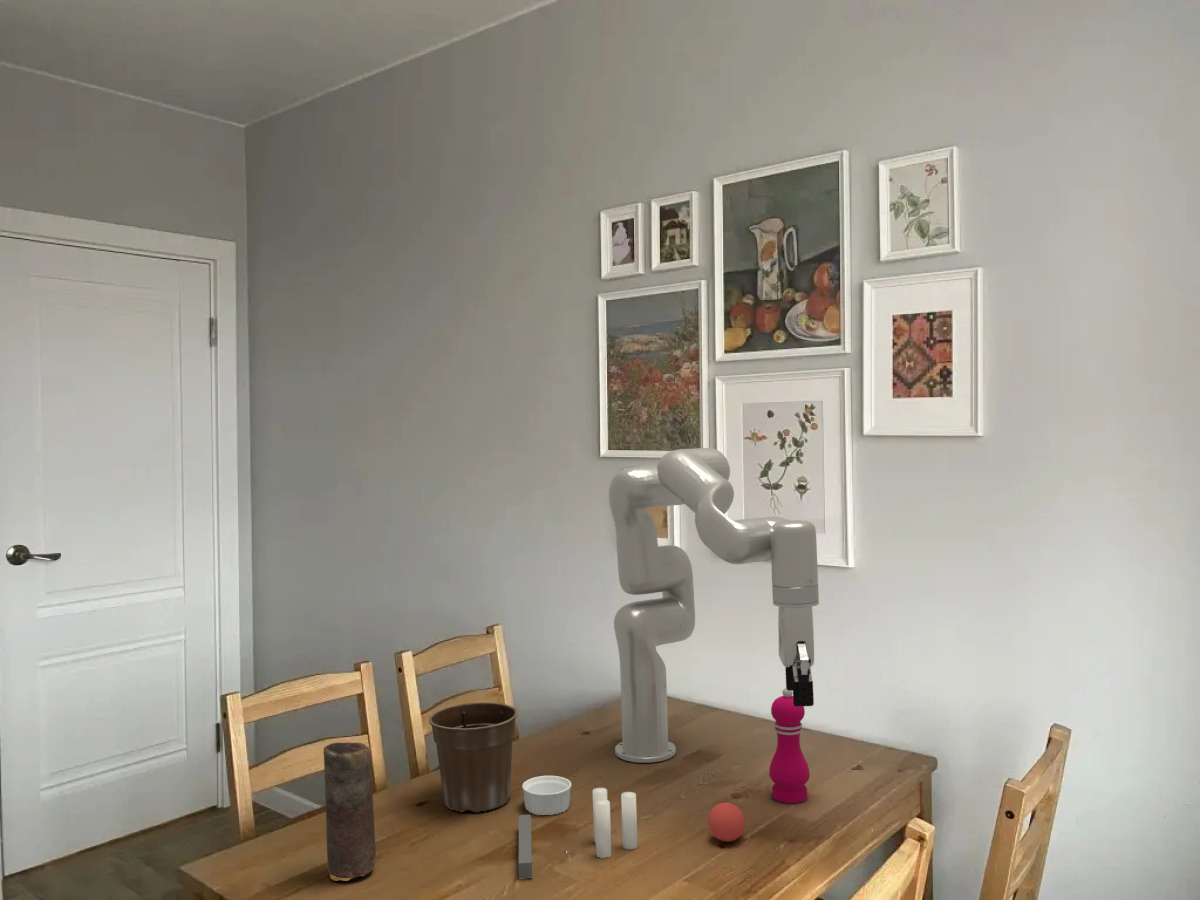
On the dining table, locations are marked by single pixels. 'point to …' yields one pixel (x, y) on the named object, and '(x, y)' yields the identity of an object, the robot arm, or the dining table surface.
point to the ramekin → (546, 794)
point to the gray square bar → (525, 847)
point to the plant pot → (475, 754)
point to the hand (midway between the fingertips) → (799, 697)
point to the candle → (349, 809)
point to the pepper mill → (788, 752)
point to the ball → (726, 822)
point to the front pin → (629, 820)
